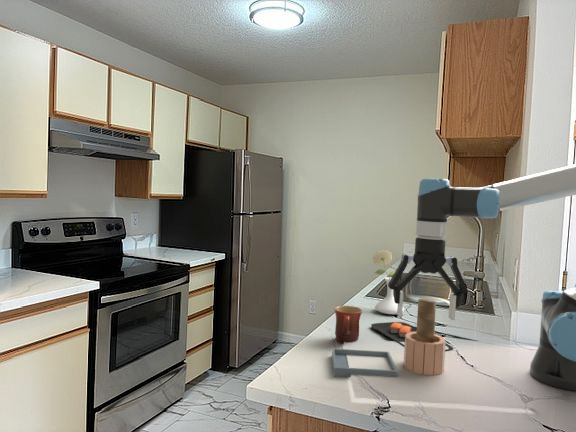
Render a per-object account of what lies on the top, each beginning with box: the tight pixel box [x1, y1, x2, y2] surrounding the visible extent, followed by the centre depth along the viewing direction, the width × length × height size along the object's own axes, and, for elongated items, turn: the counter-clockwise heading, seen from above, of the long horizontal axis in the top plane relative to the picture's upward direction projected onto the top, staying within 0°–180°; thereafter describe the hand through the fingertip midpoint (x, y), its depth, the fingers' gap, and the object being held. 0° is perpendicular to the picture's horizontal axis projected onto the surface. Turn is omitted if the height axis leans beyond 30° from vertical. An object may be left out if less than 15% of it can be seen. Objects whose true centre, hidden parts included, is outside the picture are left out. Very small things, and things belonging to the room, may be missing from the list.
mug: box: [333, 305, 363, 345], centre depth 137 cm, size 12×9×10 cm
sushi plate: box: [370, 321, 478, 352], centre depth 146 cm, size 29×30×4 cm
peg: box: [416, 297, 437, 343], centre depth 117 cm, size 4×4×18 cm
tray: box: [331, 348, 399, 378], centre depth 119 cm, size 16×14×2 cm
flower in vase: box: [372, 249, 405, 315], centre depth 175 cm, size 13×11×25 cm
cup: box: [403, 332, 447, 376], centre depth 117 cm, size 10×10×9 cm
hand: (425, 317), depth 117 cm, fingers open, 13 cm apart
